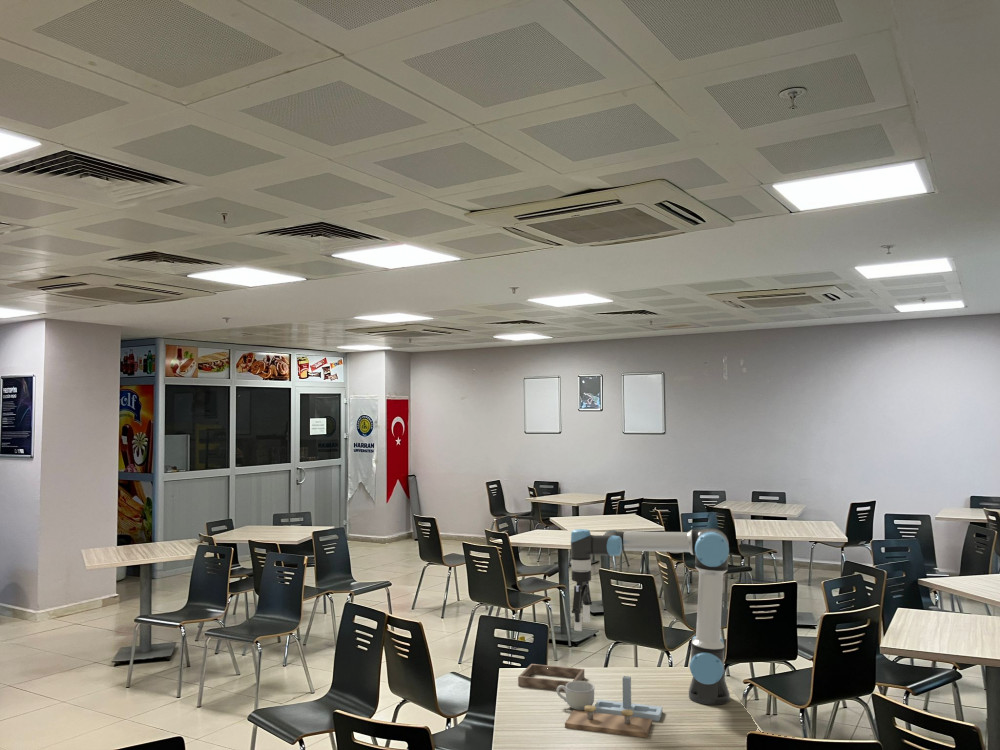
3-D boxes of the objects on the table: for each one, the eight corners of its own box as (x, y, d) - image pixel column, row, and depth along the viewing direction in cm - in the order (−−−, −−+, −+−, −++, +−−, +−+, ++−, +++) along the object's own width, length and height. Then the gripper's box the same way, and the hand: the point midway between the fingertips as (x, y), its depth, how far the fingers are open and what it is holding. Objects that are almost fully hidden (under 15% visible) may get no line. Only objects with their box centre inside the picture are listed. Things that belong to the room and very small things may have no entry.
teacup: (597, 704, 288) (597, 682, 289) (591, 714, 278) (591, 691, 279) (561, 700, 293) (561, 678, 293) (553, 709, 283) (553, 687, 283)
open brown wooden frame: (584, 677, 319) (584, 669, 319) (574, 691, 302) (574, 682, 302) (531, 672, 327) (531, 663, 327) (518, 685, 310) (518, 676, 310)
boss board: (652, 723, 269) (651, 707, 269) (646, 737, 257) (646, 720, 257) (573, 714, 278) (573, 698, 278) (564, 727, 266) (564, 711, 266)
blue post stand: (662, 712, 280) (661, 677, 281) (659, 721, 271) (658, 684, 272) (598, 705, 287) (598, 670, 288) (593, 713, 279) (592, 678, 280)
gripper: (579, 564, 311) (580, 618, 310) (563, 575, 288) (564, 633, 286) (597, 565, 309) (599, 619, 307) (583, 576, 285) (584, 635, 284)
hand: (582, 626), depth 297 cm, fingers open, 13 cm apart
